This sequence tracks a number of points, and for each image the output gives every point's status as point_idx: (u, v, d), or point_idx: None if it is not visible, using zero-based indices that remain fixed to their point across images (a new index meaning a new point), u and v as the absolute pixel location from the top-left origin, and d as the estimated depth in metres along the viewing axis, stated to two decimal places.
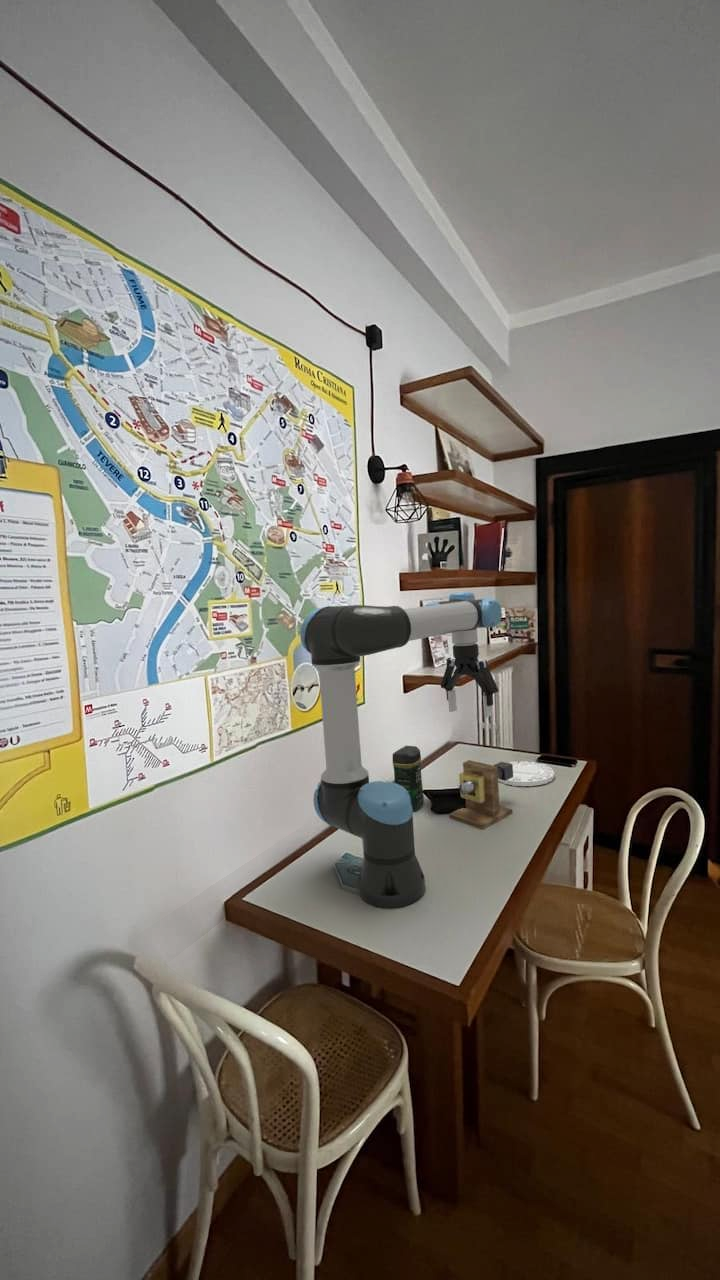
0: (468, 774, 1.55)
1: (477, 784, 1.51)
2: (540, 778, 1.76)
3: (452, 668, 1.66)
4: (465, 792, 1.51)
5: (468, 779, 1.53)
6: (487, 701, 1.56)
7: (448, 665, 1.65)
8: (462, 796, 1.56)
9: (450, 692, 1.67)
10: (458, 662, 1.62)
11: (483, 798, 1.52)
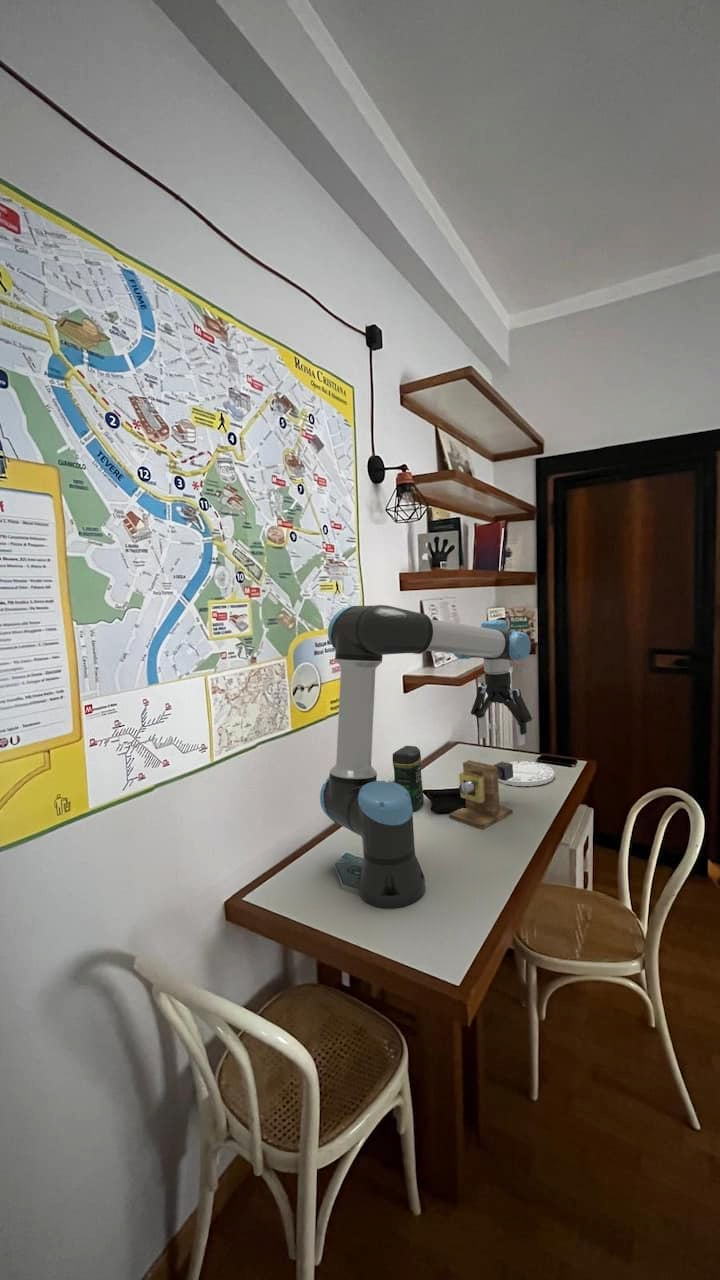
0: (468, 774, 1.55)
1: (477, 784, 1.51)
2: (540, 778, 1.76)
3: (483, 695, 1.67)
4: (465, 792, 1.51)
5: (468, 779, 1.53)
6: (520, 729, 1.56)
7: (479, 692, 1.66)
8: (462, 796, 1.56)
9: (481, 719, 1.67)
10: (490, 690, 1.63)
11: (483, 798, 1.52)
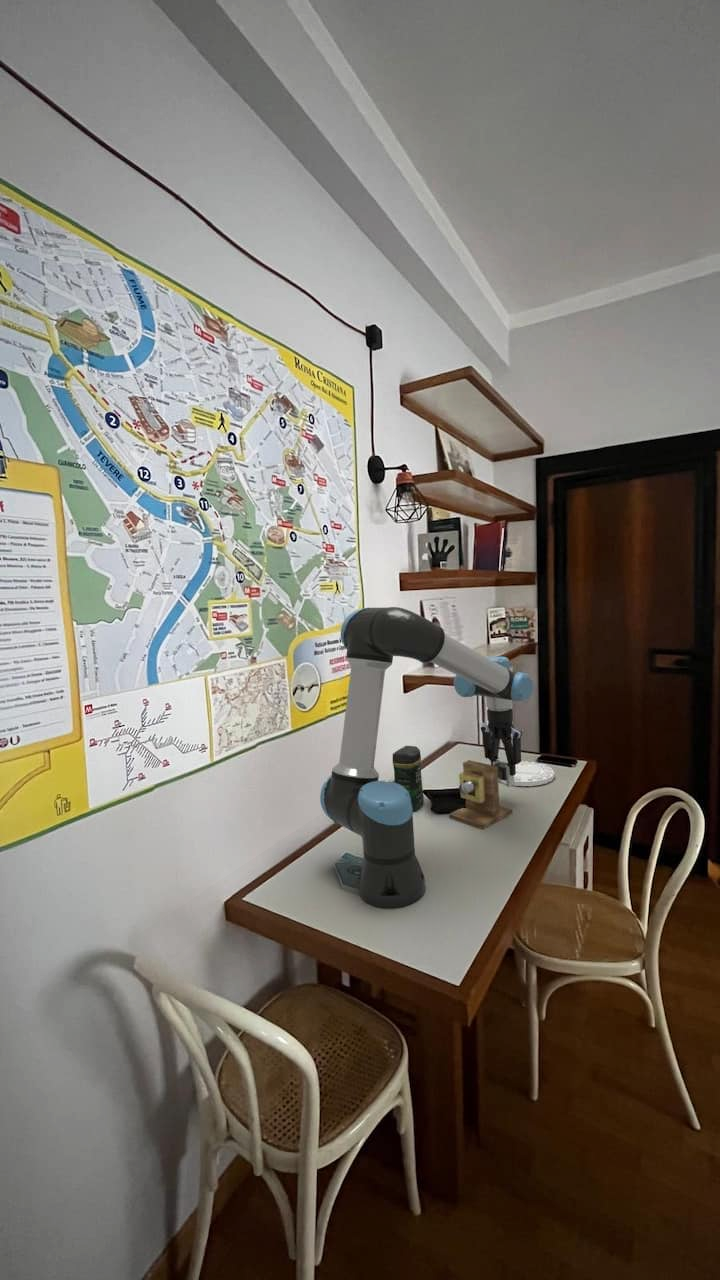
0: (468, 774, 1.55)
1: (477, 784, 1.51)
2: (540, 778, 1.76)
3: (489, 734, 1.67)
4: (465, 792, 1.51)
5: (468, 779, 1.53)
6: (510, 771, 1.61)
7: (484, 732, 1.66)
8: (462, 796, 1.56)
9: (495, 763, 1.64)
10: (491, 724, 1.64)
11: (483, 798, 1.52)
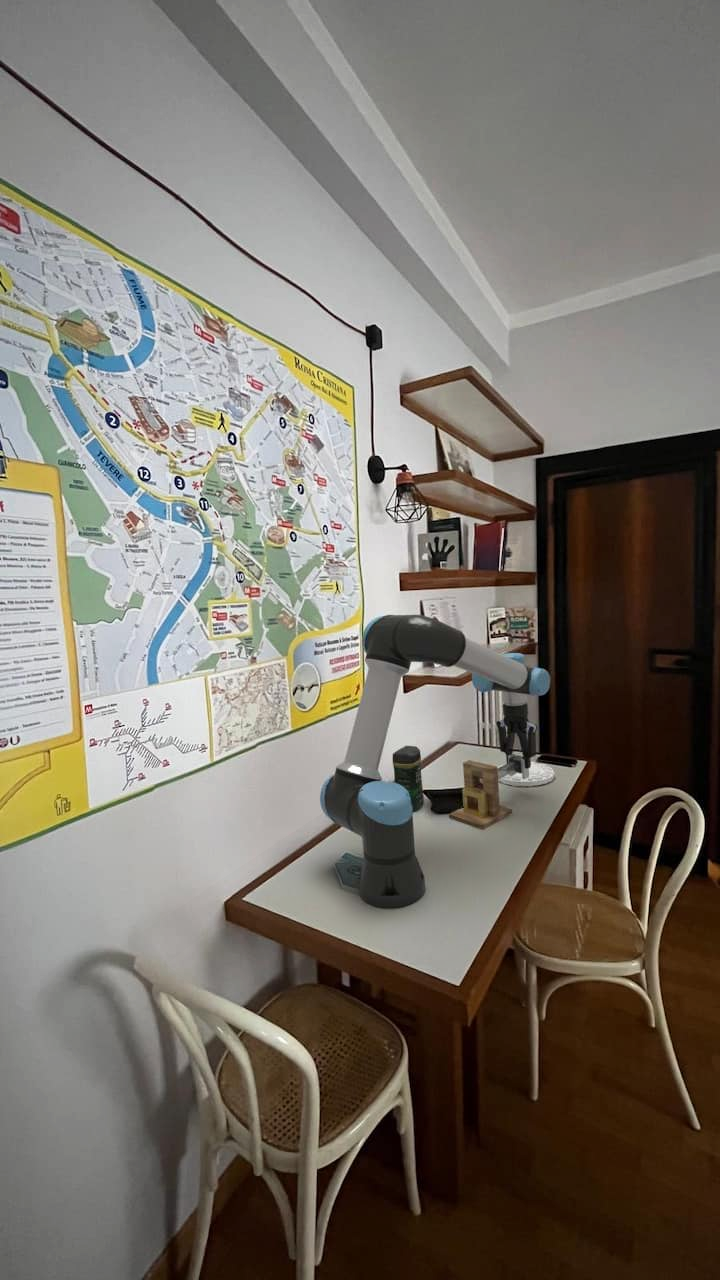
0: (471, 789, 1.56)
1: (480, 800, 1.52)
2: (540, 778, 1.76)
3: (504, 729, 1.72)
4: (482, 784, 1.56)
5: (471, 794, 1.54)
6: (525, 764, 1.66)
7: (499, 726, 1.71)
8: (465, 811, 1.57)
9: (510, 757, 1.69)
10: (507, 719, 1.69)
11: (486, 813, 1.53)
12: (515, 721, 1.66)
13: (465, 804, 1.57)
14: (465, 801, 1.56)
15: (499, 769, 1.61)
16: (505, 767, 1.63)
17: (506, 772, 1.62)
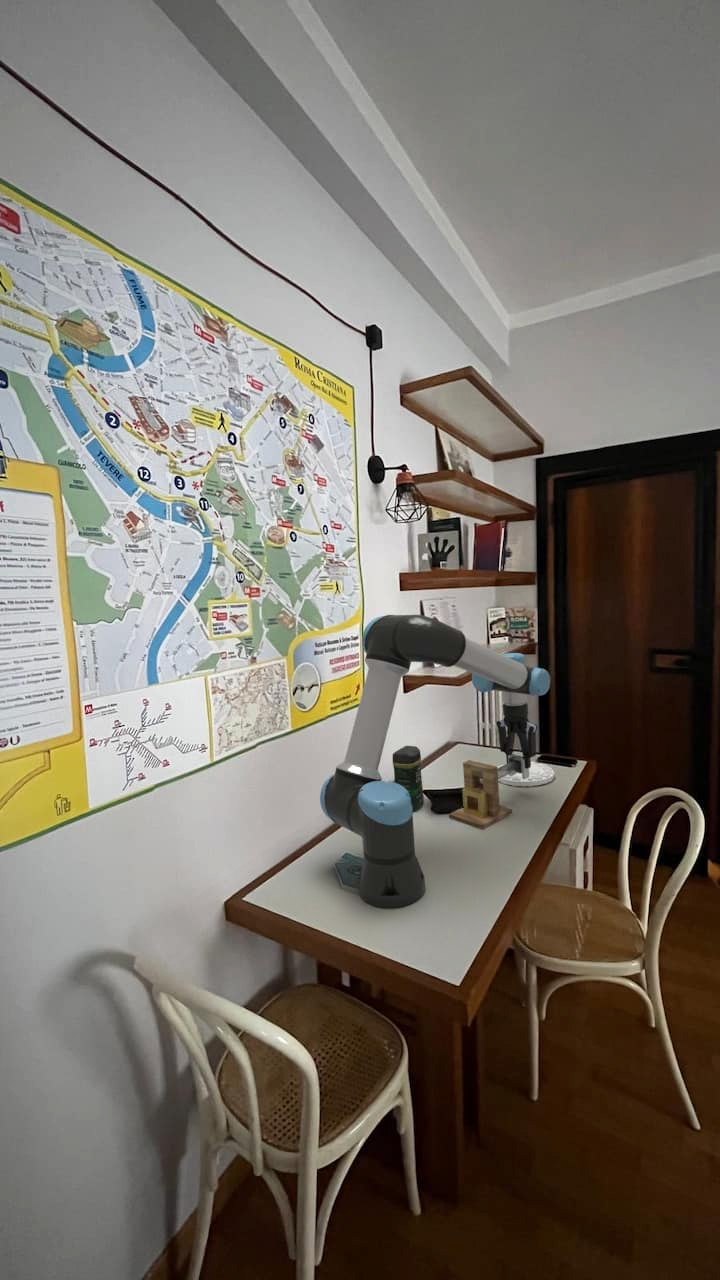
0: (471, 789, 1.56)
1: (480, 800, 1.52)
2: (540, 778, 1.76)
3: (504, 729, 1.72)
4: None
5: (471, 794, 1.54)
6: (525, 764, 1.66)
7: (499, 726, 1.71)
8: (465, 811, 1.57)
9: (510, 757, 1.69)
10: (507, 719, 1.69)
11: (486, 813, 1.53)
12: (515, 721, 1.66)
13: (465, 804, 1.57)
14: (465, 801, 1.56)
15: (499, 769, 1.61)
16: (505, 767, 1.63)
17: (506, 772, 1.62)
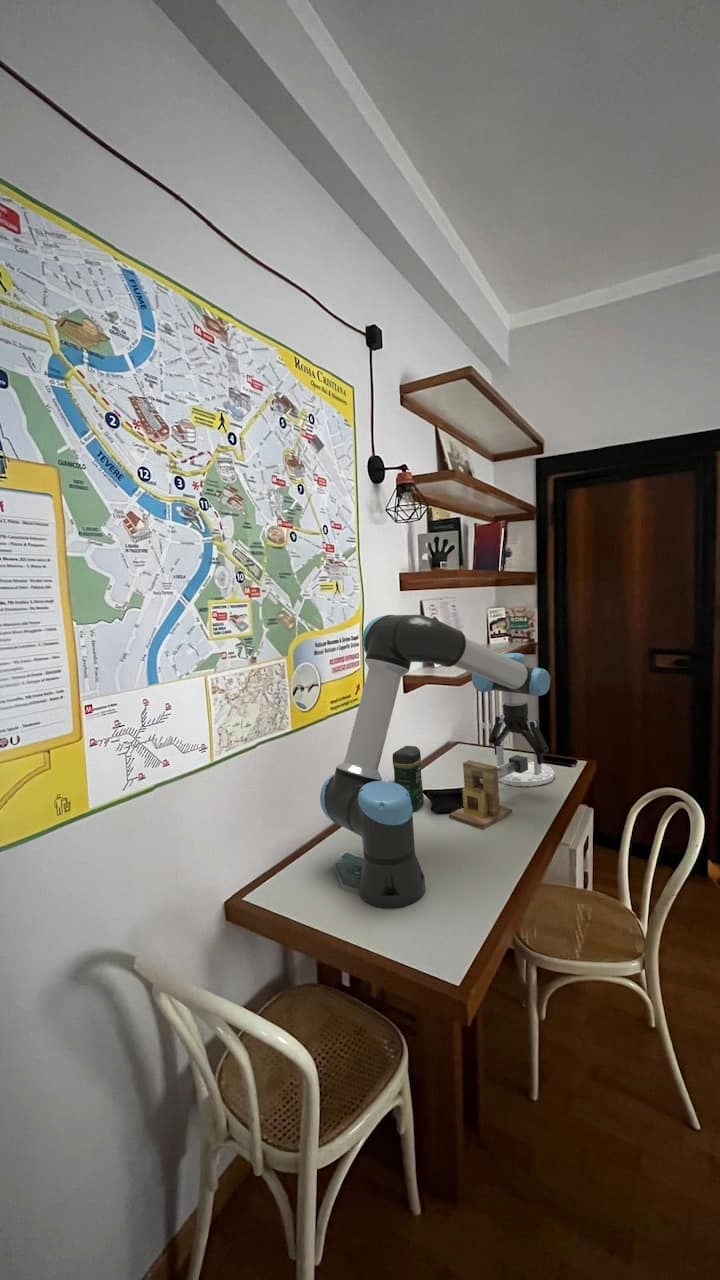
0: (471, 789, 1.56)
1: (480, 800, 1.52)
2: (540, 778, 1.76)
3: (500, 724, 1.73)
4: None
5: (471, 794, 1.54)
6: (538, 759, 1.62)
7: (497, 722, 1.72)
8: (465, 811, 1.57)
9: (498, 747, 1.73)
10: (508, 720, 1.69)
11: (486, 813, 1.53)
12: (515, 721, 1.66)
13: (465, 804, 1.57)
14: (465, 801, 1.56)
15: (499, 769, 1.61)
16: (505, 767, 1.63)
17: (506, 772, 1.62)
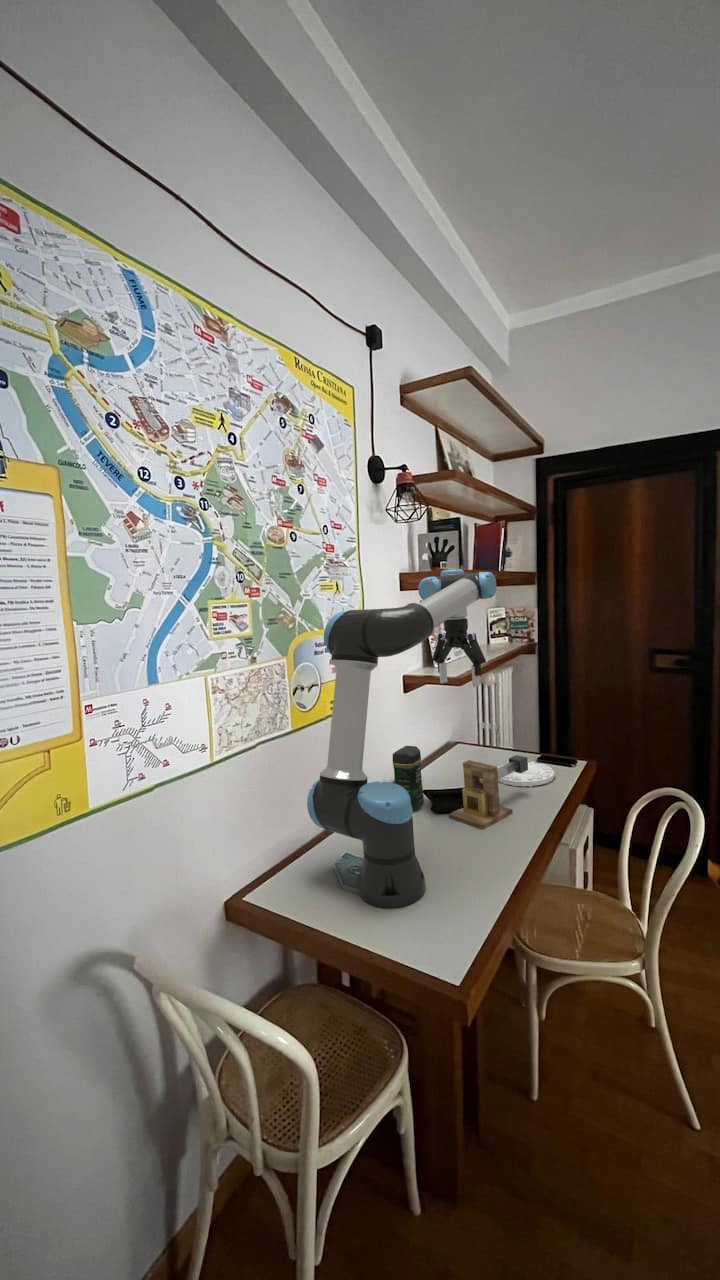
0: (471, 789, 1.56)
1: (480, 800, 1.52)
2: (540, 778, 1.76)
3: (443, 642, 1.77)
4: None
5: (471, 794, 1.54)
6: (475, 671, 1.66)
7: (439, 639, 1.76)
8: (465, 811, 1.57)
9: (441, 664, 1.77)
10: (449, 635, 1.73)
11: (486, 813, 1.53)
12: (455, 635, 1.70)
13: (465, 804, 1.57)
14: (465, 801, 1.56)
15: (499, 769, 1.61)
16: (505, 767, 1.63)
17: (506, 772, 1.62)
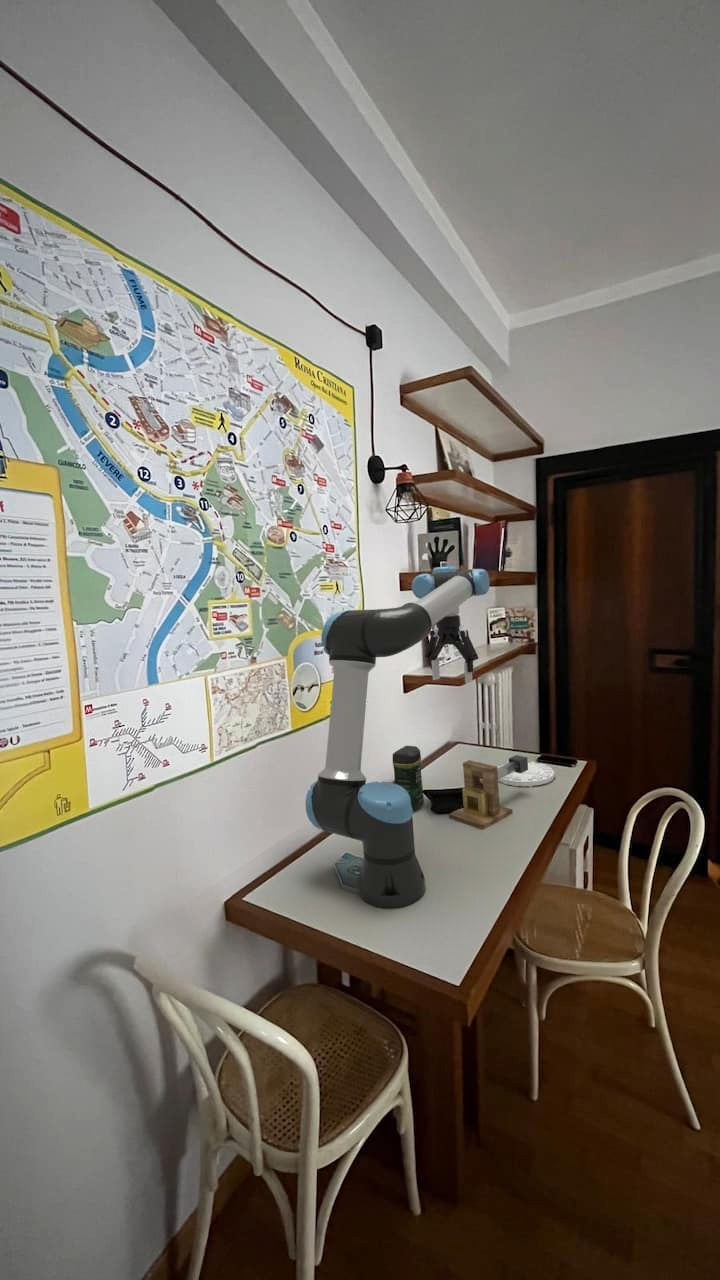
0: (471, 789, 1.56)
1: (480, 800, 1.52)
2: (540, 778, 1.76)
3: (435, 639, 1.78)
4: None
5: (471, 794, 1.54)
6: (468, 668, 1.67)
7: (432, 636, 1.77)
8: (465, 811, 1.57)
9: (434, 661, 1.78)
10: (441, 632, 1.73)
11: (486, 813, 1.53)
12: (447, 632, 1.71)
13: (465, 804, 1.57)
14: (465, 801, 1.56)
15: (499, 769, 1.61)
16: (505, 767, 1.63)
17: (506, 772, 1.62)
